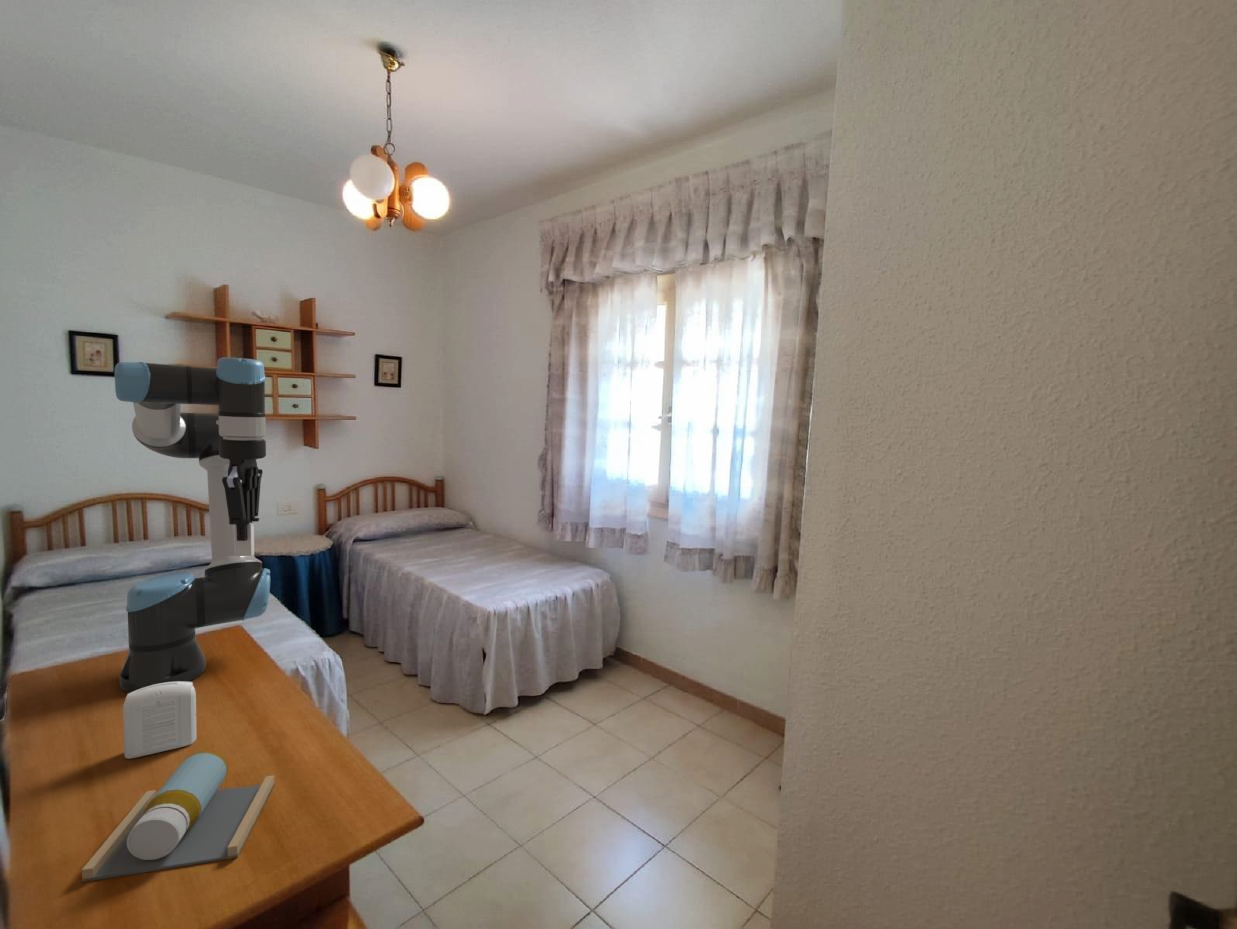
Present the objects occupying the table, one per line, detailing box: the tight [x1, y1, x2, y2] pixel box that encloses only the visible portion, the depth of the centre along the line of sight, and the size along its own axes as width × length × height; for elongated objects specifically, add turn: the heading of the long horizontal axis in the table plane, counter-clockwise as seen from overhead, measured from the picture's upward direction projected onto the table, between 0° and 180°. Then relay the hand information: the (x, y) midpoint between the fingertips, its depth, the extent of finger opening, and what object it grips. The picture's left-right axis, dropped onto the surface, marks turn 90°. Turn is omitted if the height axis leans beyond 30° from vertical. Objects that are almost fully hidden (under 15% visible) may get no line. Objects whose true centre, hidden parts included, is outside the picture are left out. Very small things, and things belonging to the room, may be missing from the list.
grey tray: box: [81, 775, 275, 883], centre depth 80 cm, size 15×18×2 cm
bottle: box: [127, 750, 229, 860], centre depth 81 cm, size 7×7×15 cm
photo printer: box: [122, 681, 197, 760], centre depth 98 cm, size 10×4×12 cm, turn 123°
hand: (245, 554), depth 106 cm, fingers closed
